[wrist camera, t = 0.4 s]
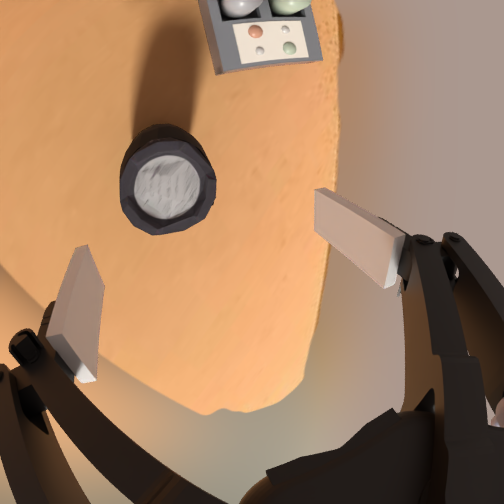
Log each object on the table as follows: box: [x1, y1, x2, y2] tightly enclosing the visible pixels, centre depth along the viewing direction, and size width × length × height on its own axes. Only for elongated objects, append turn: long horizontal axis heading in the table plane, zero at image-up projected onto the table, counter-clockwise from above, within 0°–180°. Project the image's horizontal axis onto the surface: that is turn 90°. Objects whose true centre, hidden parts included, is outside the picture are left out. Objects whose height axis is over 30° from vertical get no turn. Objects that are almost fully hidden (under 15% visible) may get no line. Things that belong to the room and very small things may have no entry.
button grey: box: [219, 0, 263, 19], centre depth 24 cm, size 4×4×4 cm
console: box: [198, 0, 323, 76], centre depth 27 cm, size 22×15×5 cm
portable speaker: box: [120, 124, 217, 235], centre depth 28 cm, size 9×9×20 cm
